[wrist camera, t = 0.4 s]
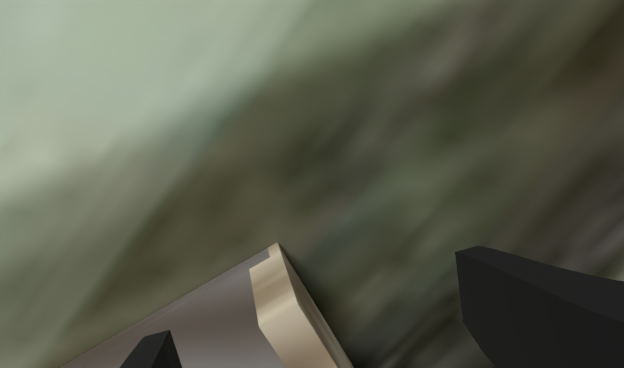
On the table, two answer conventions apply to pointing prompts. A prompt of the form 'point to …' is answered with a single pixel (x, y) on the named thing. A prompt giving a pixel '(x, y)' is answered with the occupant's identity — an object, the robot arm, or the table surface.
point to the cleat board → (236, 323)
